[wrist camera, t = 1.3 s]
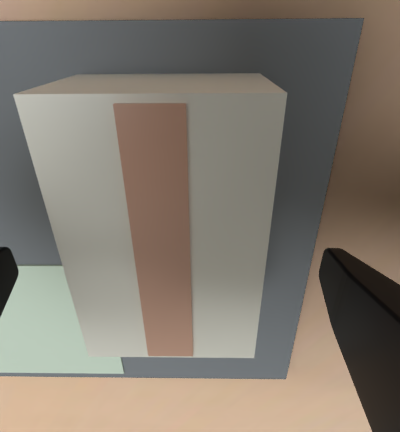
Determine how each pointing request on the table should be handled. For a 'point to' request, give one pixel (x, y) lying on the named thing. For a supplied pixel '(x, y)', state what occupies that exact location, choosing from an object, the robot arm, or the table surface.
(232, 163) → the card deck
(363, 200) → the table surface
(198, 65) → the rubber mat
